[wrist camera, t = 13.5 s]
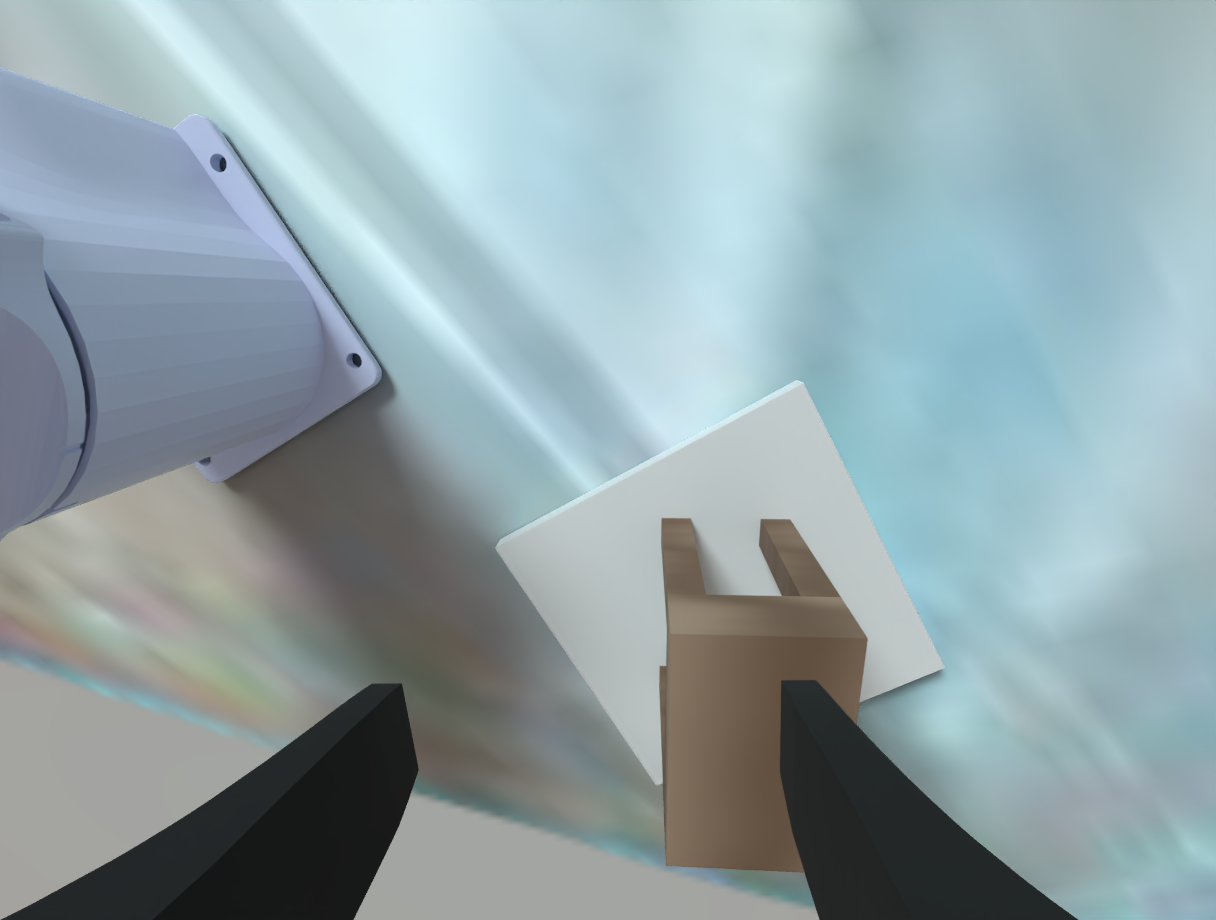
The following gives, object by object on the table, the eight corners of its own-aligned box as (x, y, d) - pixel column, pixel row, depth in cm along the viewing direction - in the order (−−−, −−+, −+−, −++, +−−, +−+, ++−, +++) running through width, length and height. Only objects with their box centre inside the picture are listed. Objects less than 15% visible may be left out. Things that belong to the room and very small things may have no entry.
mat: (500, 538, 21) (495, 548, 20) (796, 379, 19) (803, 383, 18) (656, 769, 24) (656, 785, 23) (934, 654, 21) (945, 667, 21)
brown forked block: (659, 688, 22) (666, 865, 15) (661, 518, 20) (670, 633, 13) (775, 691, 21) (836, 873, 15) (790, 519, 19) (867, 638, 13)
